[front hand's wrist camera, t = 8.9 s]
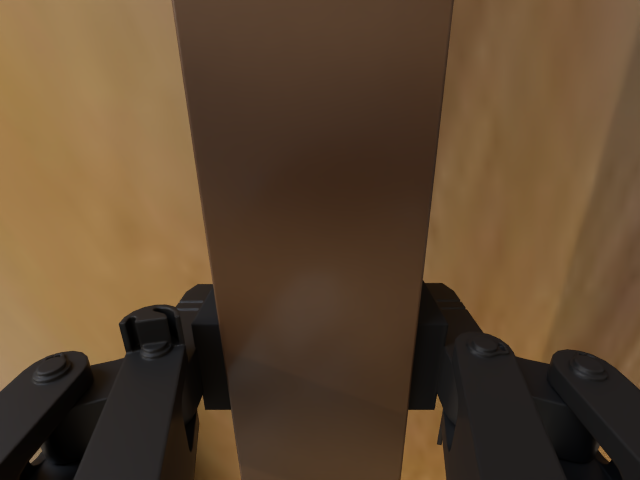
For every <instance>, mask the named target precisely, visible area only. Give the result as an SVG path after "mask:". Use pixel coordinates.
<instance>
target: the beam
mask: <svg viewBox="0 0 640 480" xmlns="http://www.w3.org/2000/svg"><path fill="white" fill-rule="evenodd" d="M453 3H454V0H172V6H173V13H174V20H175V27H176V33H177V40H178V47H179V54H180V61H181V68H182V75H183V82H184V88H185V95H186V102H187V109H188V116H189V123H190V130H191V137H192V143H193V150H194V157H195V164H196V171H197V178H198V185H199V192H200V198H201V205H202V212H203V219H204V226H205V233H206V240H207V246H208V253H209V260H210V267H211V274H212V281H213V288H214V295H215V301H216V308H217V315H218V322H219V329H220V336H221V343H222V350H223V356H224V363H225V370H226V377H227V384H228V391H229V398H230V405H231V411H232V418H233V425H234V432H235V439H236V446H237V453H238V459H239V466H240V473H241V480H400V479H401V470H402V461H403V452H404V443H405V434H406V425H407V416H408V407H409V398H410V389H411V380H412V371H413V362H414V353H415V344H416V335H417V326H418V317H419V308H420V299H421V290H422V281H423V272H424V263H425V254H426V245H427V236H428V227H429V219H430V210H431V201H432V192H433V183H434V174H435V165H436V156H437V147H438V138H439V129H440V120H441V111H442V102H443V93H444V84H445V75H446V66H447V57H448V48H449V39H450V30H451V21H452V12H453Z"/></svg>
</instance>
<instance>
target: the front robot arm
mask: <svg viewBox="0 0 640 480" xmlns="http://www.w3.org/2000/svg"><path fill="white" fill-rule="evenodd" d="M119 327H120V331H121V334H122V338H123V342H124V346H125V350H126V355H125V358H122V359H118V360H115V361H110V362H105V363H100V364H96V365H91V366H90V363H89V360H88V357H87V356H86V355H85V354H84V353H82V352H76V351H68V352H61V353H57V354H54V355H50V356H47V357H45V358H43V359H41V360H39V361H37V362H35V363H34V364H32V365H31V366H29V367H28V368H27V369H25V370H24V371H23V372H22V373H21V374H19V375H18V376H17V377H16V378H15V379H14V380H13V381H12V382H11V383H9V384H8V385H7V386H6V387H5V388H4V389H3V390H2V391H1V392H0V480H194V471H195V461H196V451H197V441H198V431H199V418H198V412H197V408H198V405H199V403H200V400H201V398H202V395H203V399H204V405H205V410H231V405H230V398H229V391H228V384H227V377H226V370H225V363H224V356H223V350H222V343H221V336H220V329H219V322H218V315H217V308H216V301H215V295H214V288H213V284H197V285H196V286H194V287H193V288H191V289H190V290H188V291H187V292H186V293H185V294H184V296H183V297H182V299H181V300H180V303H178V304H177V306H176V307H174V306H170V305H153V306H148V307H144V308H141V309H139V310H136V311H133V312H132V313H130V314H129V315H127V316H126V317H124V318H123V320H122V321H121V322H120V323H119ZM437 394H438V397H439V399H440V402H441V404H442V407H443V412H442V418H441V424H440V429H439V435H438V441H437V444H438V445H442V440H443V450H444V460H445V470H446V480H640V390H639V389H638V388H637V387H636V386H635V385H634V384H633V383H632V382H631V381H629V380H628V379H627V378H626V377H625V376H624V375H623V374H622V373H620V372H619V371H618V370H617V369H616V368H614V367H613V366H612V365H610V364H609V363H607V362H606V361H604V360H602V359H600V358H598V357H596V356H594V355H592V354H589V353H585V352H582V351H576V350H568V349H567V350H560V351H557V352H556V353H555V354H553V356H552V359H551V362H550V364H547V363H542V362H537V361H532V360H527V359H523V358H520V357H516V356H515V355H514V352H513V351H512V350H511V348H510V347H509V345H507V344H506V343H505V342H503V341H502V340H501V339H499V338H496V337H494V336H492V335H490V334H485V333H483V332H482V330H481V329H480V327H479V326H478V325H477V323H476V322H475V320H474V319H473V318H472V316H471V315H470V313H469V312H468V310H466V309H465V306H464V305H463V303H462V302H460V299H459V298H458V296H457V295H456V293H455V292H454V291H453V290H452V289H450V288H449V287H447V286H446V285H444V284H443V283H424V281H422V290H421V299H420V308H419V317H418V326H417V335H416V344H415V353H414V362H413V371H412V380H411V389H410V398H409V407H408V410H434V409H435V403H436V397H437ZM599 446H601V447H602V448H603V450H604V451H605V452H606V453H607V454H608V456H609V457H610V458H611V459H612V460H611V461H610V462H608V461H607V460H606V459H605V458H604V457H603V455H602V454H601V453H600V452H599V451H598V448H599ZM40 447H41V449H42V452H41V453H40V455H39V456H38V457H37V458H36V459H35V460H34V461H33V462H32V463H29V460H30V459H31V458H32V457H33V455H34V454H35V453H36V452H37V450H38V449H39V448H40Z"/></svg>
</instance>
